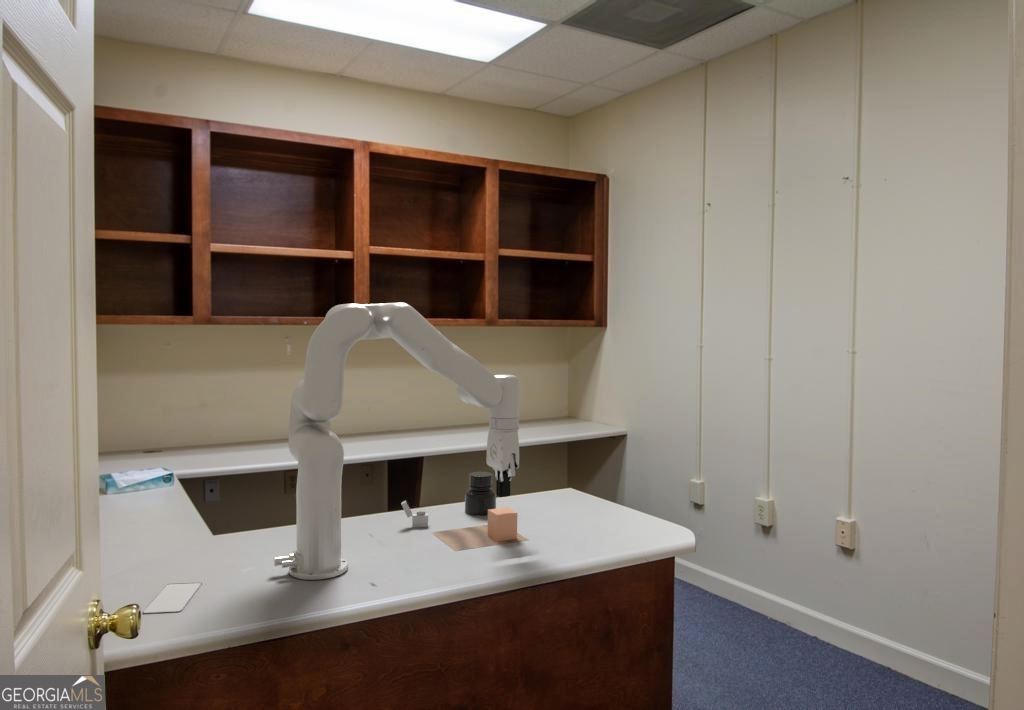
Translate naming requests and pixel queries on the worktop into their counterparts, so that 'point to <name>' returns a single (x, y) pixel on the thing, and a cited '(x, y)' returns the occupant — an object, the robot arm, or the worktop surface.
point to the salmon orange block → (502, 524)
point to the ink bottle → (480, 494)
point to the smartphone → (172, 598)
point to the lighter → (416, 516)
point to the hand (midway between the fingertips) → (503, 495)
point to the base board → (471, 538)
